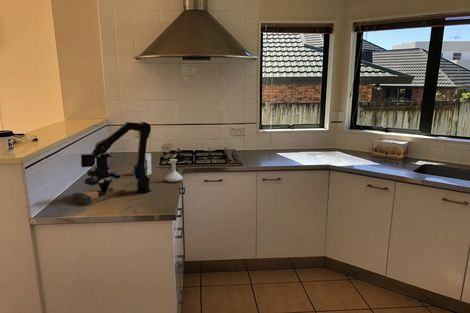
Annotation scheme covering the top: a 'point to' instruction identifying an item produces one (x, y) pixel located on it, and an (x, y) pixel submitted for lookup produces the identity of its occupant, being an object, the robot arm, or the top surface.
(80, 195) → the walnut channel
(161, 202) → the top surface
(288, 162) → the top surface
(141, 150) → the robot arm
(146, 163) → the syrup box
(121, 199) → the top surface
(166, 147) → the flower in vase
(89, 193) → the block
